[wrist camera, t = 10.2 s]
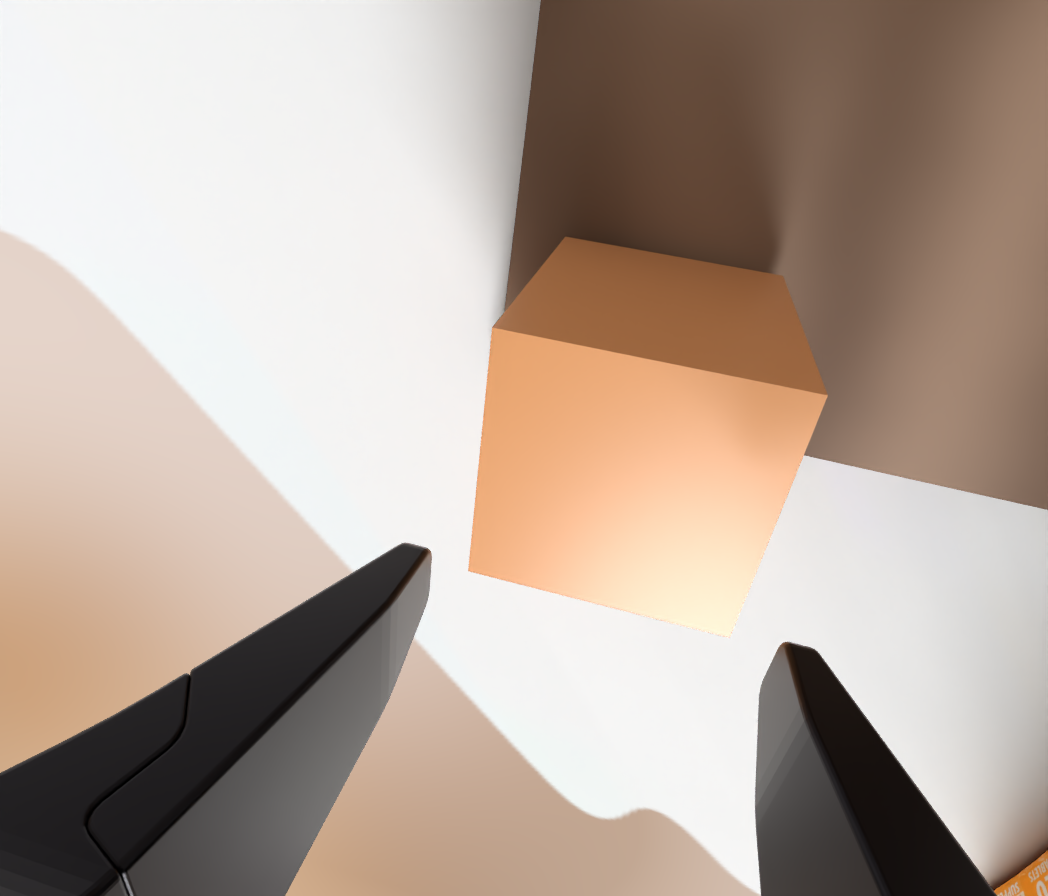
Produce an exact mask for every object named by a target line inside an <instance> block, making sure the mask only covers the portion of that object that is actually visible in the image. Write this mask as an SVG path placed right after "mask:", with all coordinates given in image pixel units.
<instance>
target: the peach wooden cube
mask: <svg viewBox="0 0 1048 896" xmlns="http://www.w3.org/2000/svg"><path fill="white" fill-rule="evenodd" d="M827 397H828V394H827V392H826V389H825V386H824V384H823V381H822V378H821V376H820V373H819V370H818V368H817V365H816V362H815V360H814V357H813V354H812V352H811V349H810V346H809V344H808V341H807V338H806V336H805V333H804V330H803V328H802V325H801V322H800V320H799V317H798V314H797V312H796V309H795V306H794V304H793V301H792V298H791V296H790V293H789V290H788V288H787V285H786V282H785V280H784V277H783V276H781V275H776V274H770V273H765V272H759V271H754V270H748V269H743V268H737V267H731V266H726V265H720V264H715V263H709V262H704V261H698V260H693V259H687V258H682V257H676V256H670V255H665V254H659V253H654V252H648V251H643V250H637V249H632V248H626V247H620V246H615V245H609V244H604V243H598V242H593V241H587V240H582V239H576V238H570V237H565V238H564V239H563V240H562V241H561V243H560V244H559V245H558V246H557V248H556V249H555V250H554V251H553V253H552V254H551V255H550V256H549V258H548V259H547V260H546V261H545V263H544V264H543V265H542V266H541V268H540V269H539V270H538V271H537V273H536V274H535V275H534V276H533V277H532V279H531V280H530V281H529V282H528V284H527V285H526V286H525V287H524V289H523V290H522V291H521V292H520V294H519V295H518V296H517V297H516V299H515V300H514V301H513V302H512V304H511V305H510V306H509V307H508V309H507V310H506V311H505V312H504V314H503V315H502V316H501V317H500V319H499V320H498V321H497V322H496V324H495V325H494V326H493V327H492V335H491V345H490V356H489V366H488V376H487V386H486V396H485V406H484V416H483V427H482V437H481V447H480V457H479V467H478V477H477V487H476V498H475V508H474V518H473V528H472V538H471V548H470V559H469V569H468V571H470V572H474V573H478V574H482V575H485V576H489V577H493V578H497V579H501V580H505V581H509V582H513V583H517V584H521V585H524V586H528V587H532V588H536V589H540V590H544V591H548V592H552V593H556V594H560V595H564V596H567V597H571V598H575V599H579V600H583V601H587V602H591V603H595V604H599V605H603V606H606V607H610V608H614V609H618V610H622V611H626V612H630V613H634V614H638V615H642V616H646V617H649V618H653V619H657V620H661V621H665V622H669V623H673V624H677V625H681V626H685V627H689V628H692V629H696V630H700V631H704V632H708V633H712V634H716V635H720V636H724V637H728V638H730V636H731V634H732V631H733V629H734V626H735V624H736V621H737V619H738V616H739V614H740V611H741V609H742V606H743V604H744V601H745V599H746V597H747V594H748V592H749V589H750V587H751V584H752V582H753V579H754V577H755V574H756V572H757V569H758V567H759V564H760V562H761V559H762V557H763V555H764V552H765V550H766V547H767V545H768V542H769V540H770V537H771V535H772V532H773V530H774V527H775V525H776V522H777V520H778V518H779V515H780V513H781V510H782V508H783V505H784V503H785V500H786V498H787V495H788V493H789V490H790V488H791V485H792V483H793V480H794V478H795V476H796V473H797V471H798V468H799V466H800V463H801V461H802V458H803V456H804V453H805V451H806V448H807V446H808V443H809V441H810V439H811V436H812V434H813V431H814V429H815V426H816V424H817V421H818V419H819V416H820V414H821V411H822V409H823V406H824V404H825V401H826V399H827Z"/></svg>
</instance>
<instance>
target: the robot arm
mask: <svg viewBox="0 0 1048 896" xmlns="http://www.w3.org/2000/svg"><path fill="white" fill-rule="evenodd" d="M431 561H432V555H431V551H430V550H429V549H428V548H426V547H422V546H418V545H414V544H410V543H402V544H400V545H398V546H396V547H394V548H393V549H391V550H389V551H388V552H386V553H385V554H383V555H381V556H380V557H378V558H376V559H375V560H373V561H371V562H370V563H368V564H366V565H365V566H363V567H361V568H360V569H358V570H356V571H355V572H353V573H351V574H350V575H348V576H346V577H345V578H343V579H341V580H340V581H338V582H336V583H335V584H333V585H331V586H330V587H328V588H326V589H325V590H323V591H321V592H320V593H318V594H316V595H315V596H313V597H311V598H310V599H308V600H306V601H305V602H303V603H301V604H300V605H298V606H297V607H295V608H293V609H292V610H290V611H288V612H287V613H285V614H283V615H282V616H280V617H278V618H277V619H275V620H273V621H272V622H270V623H269V624H267V625H265V626H263V627H262V628H260V629H258V630H257V631H255V632H253V633H252V634H250V635H248V636H247V637H245V638H243V639H242V640H240V641H238V642H237V643H235V644H234V645H232V646H230V647H228V648H227V649H225V650H223V651H222V652H220V653H219V654H217V655H215V656H213V657H212V658H210V659H208V660H207V661H205V662H204V663H202V664H200V665H199V666H197V667H195V668H194V669H192V670H191V673H190V675H189V674H187V673H186V674H183V675H182V676H180V677H178V678H177V679H175V680H173V681H172V682H170V683H168V684H167V685H165V686H163V687H162V688H160V689H158V690H157V691H155V692H153V693H151V694H150V695H148V696H146V697H144V698H143V699H141V700H139V701H137V702H136V703H134V704H132V705H130V706H129V707H127V708H125V709H123V710H122V711H120V712H118V713H116V714H115V715H113V716H111V717H109V718H107V719H105V720H103V721H101V722H99V723H98V724H96V725H94V726H92V727H90V728H88V729H86V730H84V731H82V732H80V733H78V734H77V735H75V736H73V737H71V738H69V739H67V740H65V741H63V742H61V743H59V744H57V745H55V746H53V747H51V748H49V749H47V750H45V751H44V752H41V753H39V754H37V755H35V756H33V757H31V758H29V759H27V760H25V761H23V762H21V763H19V764H17V765H15V766H13V767H11V768H9V769H7V770H5V771H3V772H1V773H0V896H285V894H286V893H287V891H288V889H289V887H290V885H291V883H292V881H293V880H294V878H295V876H296V874H297V872H298V870H299V868H300V867H301V865H302V863H303V861H304V859H305V857H306V855H307V853H308V851H309V850H310V848H311V846H312V844H313V842H314V840H315V838H316V836H317V835H318V833H319V831H320V829H321V827H322V825H323V823H324V822H325V819H326V818H327V816H328V814H329V812H330V810H331V808H332V807H333V805H334V803H335V801H336V799H337V797H338V795H339V793H340V792H341V790H342V788H343V786H344V784H345V782H346V780H347V778H348V777H349V774H350V773H351V771H352V769H353V767H354V765H355V763H356V761H357V760H358V758H359V756H360V754H361V752H362V750H363V748H364V746H365V745H366V743H367V741H368V739H369V737H370V735H371V733H372V731H373V730H374V728H375V726H376V724H377V722H378V720H379V718H380V716H381V714H382V712H383V710H384V708H385V706H386V704H387V702H388V700H389V697H390V695H391V693H392V690H393V688H394V686H395V683H396V681H397V678H398V676H399V673H400V671H401V668H402V666H403V663H404V660H405V658H406V655H407V653H408V650H409V648H410V645H411V643H412V640H413V637H414V635H415V632H416V630H417V627H418V625H419V622H420V620H421V617H422V615H423V612H424V609H425V607H426V604H427V600H428V596H429V589H430V575H431ZM755 818H756V835H757V848H758V861H759V874H760V887H761V896H997V895H996V893H995V892H994V891H993V889H992V888H991V886H990V885H989V884H988V882H987V881H986V880H985V878H984V877H983V876H982V874H981V873H980V871H979V870H978V869H977V867H976V866H975V865H974V863H973V862H972V861H971V859H970V858H969V857H968V855H967V854H966V852H965V851H964V850H963V848H962V847H961V846H960V844H959V843H958V842H957V840H956V839H955V837H954V836H953V835H952V833H951V832H950V831H949V829H948V828H947V827H946V825H945V824H944V823H943V821H942V820H941V818H940V817H939V816H938V814H937V813H936V812H935V810H934V809H933V808H932V806H931V805H930V803H929V802H928V801H927V799H926V798H925V797H924V795H923V794H922V793H921V791H920V790H919V788H918V787H917V786H916V784H915V783H914V782H913V780H912V779H911V778H910V776H909V775H908V774H907V772H906V771H905V769H904V768H903V767H902V765H901V764H900V763H899V761H898V760H897V759H896V757H895V756H894V754H893V753H892V752H891V750H890V749H889V748H888V746H887V745H886V744H885V742H884V741H883V740H882V738H881V737H880V735H879V734H878V733H877V731H876V730H875V729H874V727H873V726H872V725H871V723H870V722H869V720H868V719H867V718H866V716H865V715H864V714H863V712H862V711H861V710H860V708H859V707H858V706H857V704H856V703H855V701H854V700H853V699H852V697H851V696H850V695H849V693H848V692H847V691H846V689H845V688H844V686H843V685H842V684H841V682H840V681H839V680H838V678H837V677H836V676H835V674H834V673H833V671H832V670H831V669H830V667H829V666H828V665H827V663H826V662H825V661H824V659H823V658H822V657H821V655H820V654H819V653H818V652H817V651H816V650H815V649H813V648H810V647H807V646H803V645H799V644H795V643H791V642H784V643H782V644H781V645H780V647H779V648H778V650H777V652H776V654H775V656H774V658H773V660H772V662H771V664H770V667H769V669H768V671H767V673H766V675H765V677H764V679H763V681H762V685H761V688H760V694H759V710H758V736H757V762H756V787H755Z"/></svg>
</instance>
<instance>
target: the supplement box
mask: <svg viewBox="0 0 1048 896" xmlns="http://www.w3.org/2000/svg"><path fill="white" fill-rule="evenodd" d="M994 892H995V893H996V895H997V896H1048V850H1047V851H1046V852H1045V853H1044V854H1042V855H1041V856H1040V857H1039V858H1038V859H1037V860H1035V861H1034V862H1032V863H1031V864H1030V865H1028V866H1027V867H1026V868H1025V869H1023V870H1022V871H1021V872H1020V873H1019V874H1017V875H1016V876H1015V877H1013V878H1011V879H1010V880H1009V881H1007V882H1006V883H1004V884H1003V885H1001V886H1000V887H998V888H996V889H995V890H994Z"/></svg>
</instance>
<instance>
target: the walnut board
mask: <svg viewBox="0 0 1048 896" xmlns="http://www.w3.org/2000/svg"><path fill="white" fill-rule="evenodd" d="M565 237H570V238H576V239H582V240H587V241H593V242H598V243H604V244H609V245H615V246H620V247H626V248H632V249H637V250H643V251H648V252H654V253H659V254H665V255H670V256H676V257H682V258H687V259H693V260H698V261H704V262H709V263H715V264H720V265H726V266H731V267H737V268H743V269H748V270H754V271H759V272H765V273H770V274H776V275H781V276H783V277H784V280H785V282H786V285H787V288H788V290H789V293H790V296H791V298H792V301H793V304H794V306H795V309H796V312H797V314H798V317H799V320H800V322H801V325H802V328H803V330H804V333H805V336H806V338H807V341H808V344H809V346H810V349H811V352H812V354H813V357H814V360H815V362H816V365H817V368H818V370H819V373H820V376H821V378H822V381H823V384H824V386H825V389H826V392H827V394H828V397H827V399H826V401H825V404H824V406H823V409H822V411H821V414H820V416H819V419H818V421H817V424H816V426H815V429H814V431H813V434H812V436H811V439H810V441H809V443H808V446H807V448H806V451H805V453H804V455H805V456H810V457H814V458H819V459H823V460H828V461H832V462H837V463H841V464H846V465H850V466H855V467H859V468H864V469H868V470H873V471H877V472H881V473H886V474H890V475H895V476H899V477H904V478H908V479H913V480H917V481H922V482H926V483H931V484H935V485H940V486H944V487H948V488H953V489H957V490H962V491H966V492H971V493H975V494H980V495H984V496H989V497H993V498H998V499H1002V500H1007V501H1011V502H1016V503H1020V504H1024V505H1029V506H1033V507H1038V508H1042V509H1047V510H1048V0H541V4H540V13H539V21H538V30H537V38H536V47H535V55H534V64H533V73H532V81H531V90H530V98H529V107H528V115H527V124H526V132H525V141H524V149H523V158H522V166H521V175H520V183H519V192H518V201H517V209H516V218H515V226H514V235H513V243H512V252H511V260H510V269H509V277H508V286H507V294H506V303H505V311H506V310H507V309H508V307H509V306H510V305H511V304H512V302H513V301H514V300H515V299H516V297H517V296H518V295H519V294H520V292H521V291H522V290H523V289H524V287H525V286H526V285H527V284H528V282H529V281H530V280H531V279H532V277H533V276H534V275H535V274H536V273H537V271H538V270H539V269H540V268H541V266H542V265H543V264H544V263H545V261H546V260H547V259H548V258H549V256H550V255H551V254H552V253H553V251H554V250H555V249H556V248H557V246H558V245H559V244H560V243H561V241H562V240H563V239H564V238H565Z"/></svg>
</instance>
